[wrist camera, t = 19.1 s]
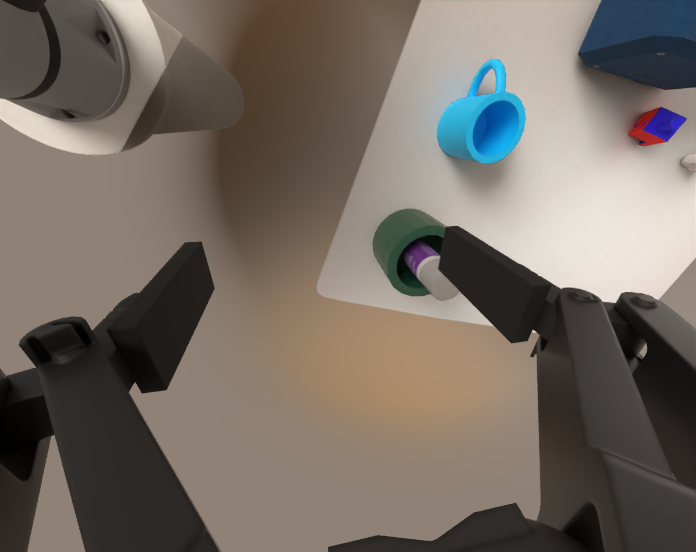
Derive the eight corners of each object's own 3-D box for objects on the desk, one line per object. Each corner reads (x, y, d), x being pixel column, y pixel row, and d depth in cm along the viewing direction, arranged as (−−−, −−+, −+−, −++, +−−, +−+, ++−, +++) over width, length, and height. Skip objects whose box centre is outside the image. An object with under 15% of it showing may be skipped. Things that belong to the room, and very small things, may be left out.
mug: (479, 157, 45) (513, 163, 38) (433, 157, 44) (459, 163, 37) (500, 66, 39) (546, 54, 32) (448, 63, 38) (483, 49, 31)
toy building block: (637, 115, 48) (676, 101, 40) (660, 125, 47) (704, 114, 40) (621, 136, 49) (656, 126, 42) (643, 146, 49) (683, 138, 41)
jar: (359, 247, 49) (371, 270, 41) (407, 194, 46) (431, 208, 38) (402, 281, 54) (420, 308, 47) (449, 236, 51) (476, 256, 43)
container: (390, 240, 48) (425, 283, 35) (413, 226, 48) (457, 264, 35) (401, 260, 51) (437, 306, 38) (423, 246, 50) (468, 289, 37)
